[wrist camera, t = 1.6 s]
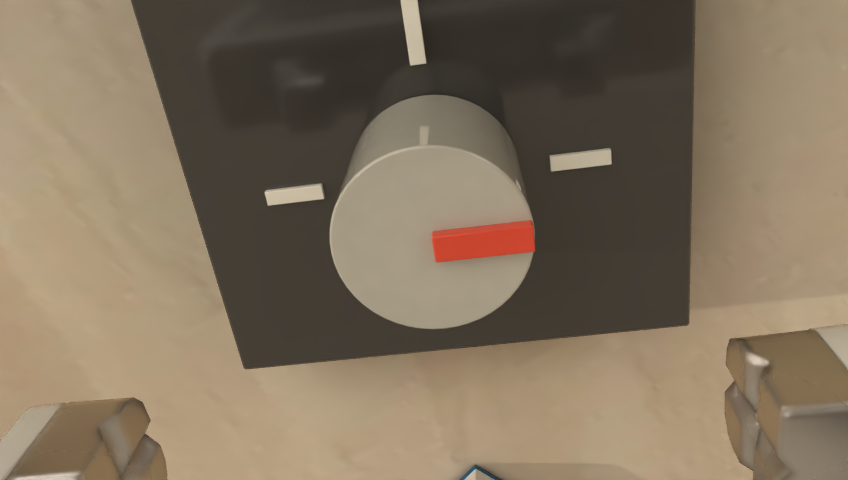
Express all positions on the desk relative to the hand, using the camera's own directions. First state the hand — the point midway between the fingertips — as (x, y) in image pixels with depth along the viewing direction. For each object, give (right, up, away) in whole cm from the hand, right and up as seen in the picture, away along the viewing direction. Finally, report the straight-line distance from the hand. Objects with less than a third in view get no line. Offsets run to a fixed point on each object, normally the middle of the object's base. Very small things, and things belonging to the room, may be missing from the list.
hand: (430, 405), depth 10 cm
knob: (0, +4, +7) cm, 8 cm away
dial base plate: (0, +7, +9) cm, 11 cm away
